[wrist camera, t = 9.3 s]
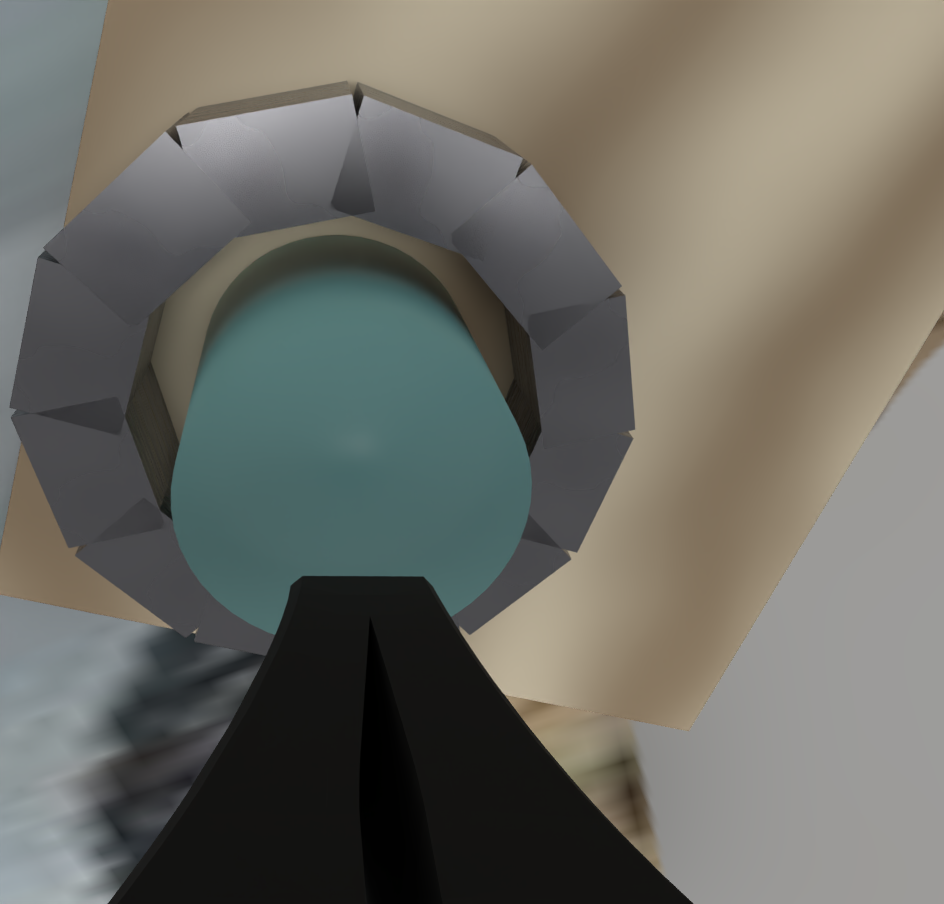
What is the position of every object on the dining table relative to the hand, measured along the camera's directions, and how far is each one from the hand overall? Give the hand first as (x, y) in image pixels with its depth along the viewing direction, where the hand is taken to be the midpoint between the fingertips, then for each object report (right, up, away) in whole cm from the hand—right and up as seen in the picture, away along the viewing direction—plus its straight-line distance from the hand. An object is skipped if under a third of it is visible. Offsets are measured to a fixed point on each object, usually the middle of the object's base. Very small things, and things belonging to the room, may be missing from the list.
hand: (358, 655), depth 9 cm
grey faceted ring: (-1, +4, +7) cm, 8 cm away
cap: (-1, +4, +7) cm, 8 cm away
